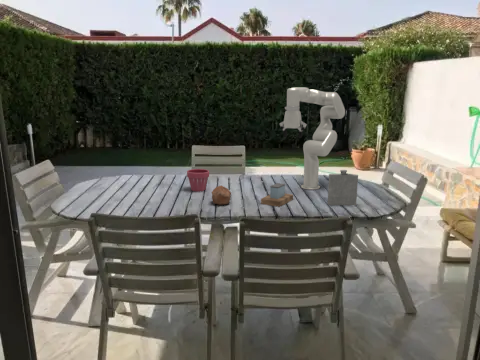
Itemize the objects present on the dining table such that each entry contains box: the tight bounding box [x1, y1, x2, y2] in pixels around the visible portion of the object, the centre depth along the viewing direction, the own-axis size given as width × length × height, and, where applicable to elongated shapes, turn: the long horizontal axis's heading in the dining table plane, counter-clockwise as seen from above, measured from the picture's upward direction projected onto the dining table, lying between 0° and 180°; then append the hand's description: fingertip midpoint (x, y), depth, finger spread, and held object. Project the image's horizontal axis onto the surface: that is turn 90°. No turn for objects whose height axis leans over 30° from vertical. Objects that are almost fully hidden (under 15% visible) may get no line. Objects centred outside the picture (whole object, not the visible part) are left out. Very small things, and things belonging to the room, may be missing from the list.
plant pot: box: [186, 168, 210, 192], centre depth 262 cm, size 14×14×13 cm
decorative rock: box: [211, 185, 232, 206], centre depth 232 cm, size 13×11×10 cm
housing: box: [269, 182, 286, 199], centre depth 235 cm, size 5×9×7 cm, turn 149°
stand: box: [260, 192, 294, 208], centre depth 237 cm, size 18×12×3 cm, turn 149°
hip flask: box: [327, 169, 359, 206], centre depth 229 cm, size 16×4×20 cm, turn 83°
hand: (292, 137), depth 247 cm, fingers open, 9 cm apart
